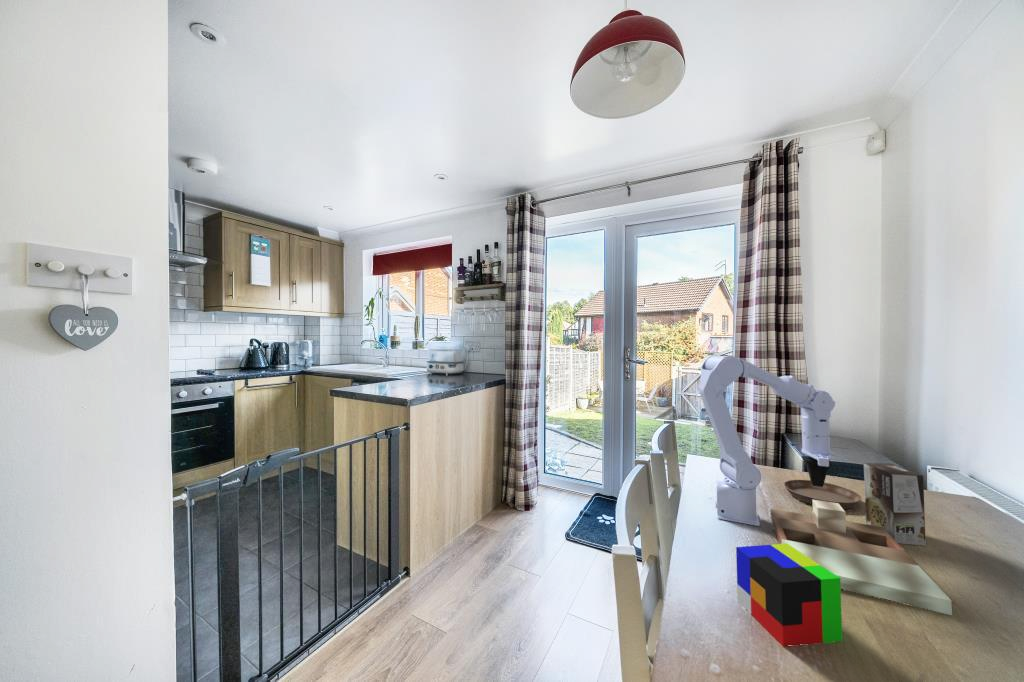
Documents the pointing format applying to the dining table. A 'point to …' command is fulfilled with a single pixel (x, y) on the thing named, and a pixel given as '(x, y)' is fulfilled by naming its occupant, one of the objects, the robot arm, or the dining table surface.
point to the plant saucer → (822, 493)
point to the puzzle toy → (789, 594)
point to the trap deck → (862, 560)
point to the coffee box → (895, 502)
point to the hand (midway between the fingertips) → (817, 485)
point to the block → (829, 516)
